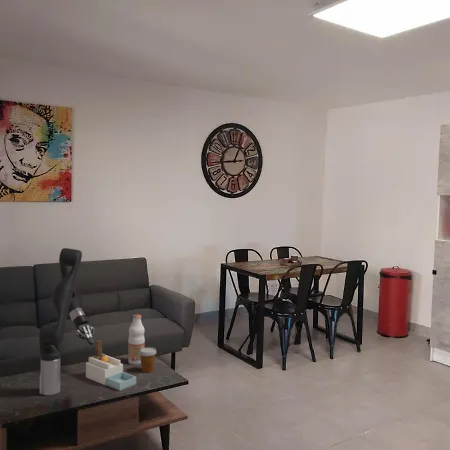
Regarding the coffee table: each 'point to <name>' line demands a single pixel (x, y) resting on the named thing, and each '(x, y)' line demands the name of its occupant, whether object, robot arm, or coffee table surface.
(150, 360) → the disposable coffee cup
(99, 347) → the plunger
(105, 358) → the ball
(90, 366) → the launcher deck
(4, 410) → the coffee table surface
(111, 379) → the bin
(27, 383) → the coffee table surface
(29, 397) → the coffee table surface
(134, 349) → the fruit juice
